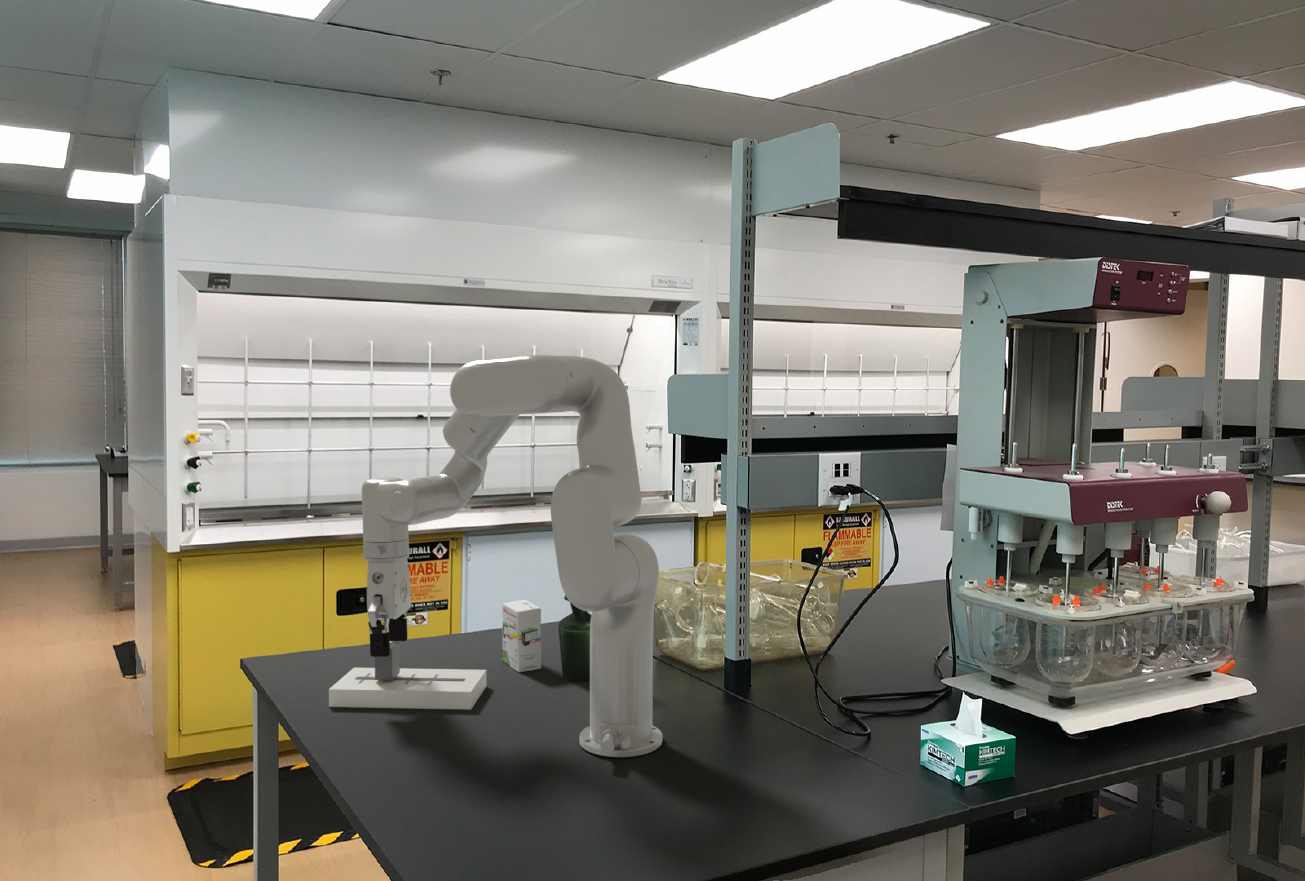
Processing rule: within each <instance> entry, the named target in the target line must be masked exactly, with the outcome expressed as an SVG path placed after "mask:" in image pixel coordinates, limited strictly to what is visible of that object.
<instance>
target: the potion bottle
mask: <svg viewBox="0 0 1305 881" xmlns="http://www.w3.org/2000/svg"><path fill="white" fill-rule="evenodd" d="M563 599H564V601H567V602H569V605H570V609H571V612H572V613H570V614H568V615H567V616H565V617H563V618H562V619H561V620H560V621H559V623H558V624H557V629H558V639H559V649H560V650H559V651H560V662H561V673H562V677H563V678H564V679H566V680H569V681H573V682H581V681H582V682H583V681H584V682H585V681H590V623H591V615H592V613H590V612H589V611H584V610H581V609H579V608H577V607H576V606H574V605H573V604H572V603H571V602H570V601H569V600H568V598H567V597H566V595H565V594H564V597H563Z"/></svg>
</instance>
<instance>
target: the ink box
mask: <svg viewBox="0 0 1305 881" xmlns="http://www.w3.org/2000/svg"><path fill="white" fill-rule="evenodd" d="M501 605H502V607H501V608H502V614H501V616H502V655H501V656H502V662H503V663H505V664H506V665H507V666H509V667H510V668H512V669H513V670H515V671H516V672H518V673H522V672H529V671H534V670H535V671H536V670H540V669H542V609H541V607H539V606H537V605H536V604H534V603H532V602H530V601H528V600H526V599H520V600H519V599H518V600H514V601H510V602H509V601H508V602H503V603H502V604H501Z"/></svg>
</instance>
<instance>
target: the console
mask: <svg viewBox="0 0 1305 881" xmlns="http://www.w3.org/2000/svg"><path fill="white" fill-rule="evenodd" d="M486 688H487V669H461V668H460V669H459V668H458V669H457V668H456V669H455V668H454V669H453V668H408V667H407V668H403V667H402V668H400V673H399V674H398V675H397V676H396V677H395V678H394V679H393V680H375V667H353V668H351V670H349V671H348V672H347V673H346V674H345V675H344V676H342V677H341V678H340V679H339V680H338V681H336V682H335V683H334V684H333V685H332V686H331V687H329V689H328V707H329V708H364V709H365V708H367V709H368V708H374V709H421V710H423V709H425V710H472V709H473V707H474V705H475V704H476V703H477V701H478V700H479V699H480V697H481V696H482V694H483V692H484V691H485V689H486Z"/></svg>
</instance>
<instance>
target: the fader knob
mask: <svg viewBox="0 0 1305 881" xmlns="http://www.w3.org/2000/svg"><path fill="white" fill-rule="evenodd" d="M400 665H401V664H400V641H390V655H389V656H388V657H374V668H375V680H393V679H394V678H395V677H396V676H397V675H398V674H399V673H400V667H401V666H400Z"/></svg>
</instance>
